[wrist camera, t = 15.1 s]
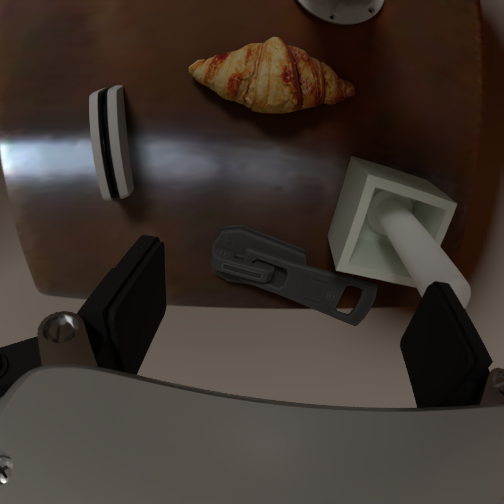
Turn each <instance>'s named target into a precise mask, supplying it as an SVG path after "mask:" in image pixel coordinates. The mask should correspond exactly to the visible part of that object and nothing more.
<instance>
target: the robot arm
mask: <svg viewBox="0 0 504 504" xmlns="http://www.w3.org/2000/svg"><path fill="white" fill-rule="evenodd" d="M297 1H298V3H299V4H300V5H301V6H302V7H303V8H304V9H305V10H306V11H307V12H308V13H310V14H312V15H313V16H314V17H316V18H318V19H321V20H323V21H325V22H329V23H332V24H338V25H353V24H359V23H362V22H364V21H367V20H368V19H370V18H371V17H373V16H374V15H375V14H377V12H378V11H379V10H380V9H381V7H382V5H383V3H384V0H297ZM368 10H371V13H370V12H369V11H368ZM330 16H332V17H333V19H330ZM165 311H166V286H165V253H164V243H163V242H160V240H159V238H158V237H153V236H147V235H142V236H140V238H139V239H138V240H137V241H136V242H135V244H134V245H133V246H132V247H131V248H130V250H129V251H128V252H127V253H126V254H125V256H124V257H123V258H122V259H121V261H120V262H119V263H118V264H117V266H116V267H115V268H112V269H111V270H110V271H109V272H108V274H107V275H106V276H105V277H104V279H103V280H102V281H101V282H100V284H99V285H98V286H97V288H96V289H95V290H94V291H93V293H92V294H91V295H90V297H89V298H88V299H87V301H86V302H85V303H84V305H83V306H82V307H81V309H80V310H79V311H78V313H77V314H75V313H73V312H68V311H61V312H56V313H53V314H51V315H49V316H48V317H46V318H45V319H44V320H43V321H42V322H41V323H40V325H39V327H38V334H37V335H38V336H37V337H34V338H30V339H27V340H24V341H21V342H18V343H14V344H11V345H8V346H5V347H1V348H0V504H504V369H501V368H494V369H493V370H491V372H490V371H489V369H488V367H489V366H490V365H491V363H492V362H493V361H492V359H491V357H490V355H489V353H488V351H487V349H486V347H485V345H484V343H483V341H482V340H481V338H480V336H479V334H478V332H477V330H476V328H475V327H474V325H473V323H472V321H471V320H470V318H469V316H468V315H467V313H466V311H465V309H464V307H463V306H462V304H461V302H460V301H459V299H458V297H457V296H456V294H455V292H454V291H453V289H452V288H451V286H450V285H449V283H444V282H438V281H434V282H433V283H432V284H430V285H428V287H427V289H426V291H425V293H424V295H423V297H422V299H421V301H420V303H419V305H418V307H417V310H416V311H415V314H414V315H413V317H412V319H411V321H410V323H409V325H408V327H407V329H406V331H405V333H404V335H403V337H402V339H401V342H400V348H401V351H402V354H403V358H404V361H405V364H406V368H407V371H408V375H409V378H410V382H411V385H412V389H413V393H414V397H415V400H416V404H417V408H365V407H343V406H327V405H314V404H302V403H293V402H284V401H276V400H267V399H259V398H252V397H246V396H239V395H233V394H227V393H221V392H215V391H210V390H204V389H199V388H194V387H189V386H184V385H179V384H174V383H170V382H165V381H160V380H156V379H152V378H147V377H143V376H139V375H137V373H138V371H139V368H140V366H141V364H142V362H143V360H144V357H145V355H146V353H147V350H148V349H149V346H150V344H151V342H152V340H153V338H154V336H155V333H156V331H157V329H158V327H159V325H160V323H161V321H162V319H163V317H164V314H165Z"/></svg>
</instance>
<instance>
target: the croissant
mask: <svg viewBox="0 0 504 504" xmlns="http://www.w3.org/2000/svg"><path fill="white" fill-rule="evenodd" d="M189 72H190V74H191V75H192V76H193V77H194V78H195V79H196V80H197V81H198V82H199V83H201V84H203V85H204V86H207V87H209V88H210V89H211V90H213V91H215V92H216V93H217V94H218V95H219V96H220V97H222V98H224V99H227V100H230V101H235V102H238V103H240V104H244V105H245V106H246V107H248V108H251V110H252V111H255V112H259V113H289V112H293V111H298V110H300V109H305V108H310V107H315V106H318V105H320V104H323V103H324V104H329V105H330V104H336V103H338V102H340V101H342V100H346V99H348V98H352V97H353V96H354V87H353V85H352V84H351V82H349V81H346V80H342V79H340V78H338V76H337V74H336V73H335V72H334V71H333V69H332V68H331V67H329V66H328V65H327V64H325V63H324V62H322V63H321V62H319V61H318V60H317V59H315V58H311V57H310V56H309V55H308V54H307V53H306V52H305V51H304V50H302V49H299V48H296V47H293V46H289V45H286V44H285V42H284V41H283V40H282V39H281V38H279V37H273V38H271V39H269V40H267V41H266V42H265V43H251V44H249V45H246V46H244V47H243V48H242V49H239V50H237V51H233V52H227V53H220V54H217V55H215V56H214V57H212V58H209V59H208V60H198V61H196V62H195V63H194V64H192V65H191V66H190V67H189Z"/></svg>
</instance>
